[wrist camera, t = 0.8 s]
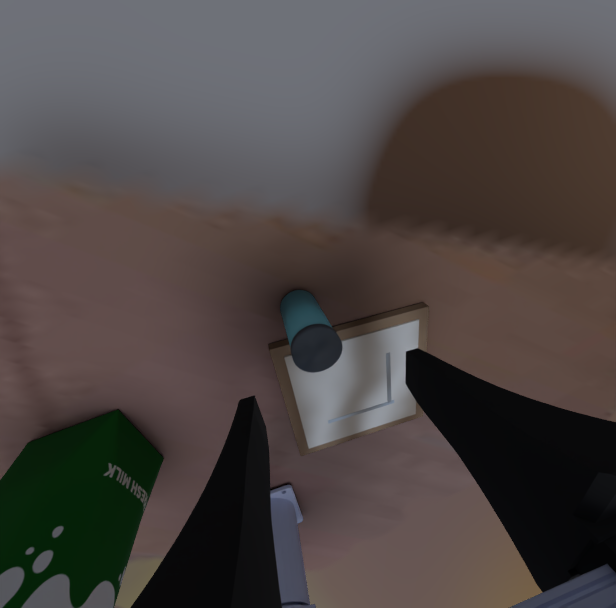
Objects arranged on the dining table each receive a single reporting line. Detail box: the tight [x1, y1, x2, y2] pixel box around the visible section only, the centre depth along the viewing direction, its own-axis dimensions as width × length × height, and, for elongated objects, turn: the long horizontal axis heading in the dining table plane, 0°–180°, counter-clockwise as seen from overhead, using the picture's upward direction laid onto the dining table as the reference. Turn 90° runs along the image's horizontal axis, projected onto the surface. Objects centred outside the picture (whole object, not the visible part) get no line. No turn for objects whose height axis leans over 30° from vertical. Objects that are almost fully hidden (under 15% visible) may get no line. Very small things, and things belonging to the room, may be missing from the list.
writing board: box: [268, 303, 429, 456], centre depth 25 cm, size 14×14×1 cm
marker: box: [280, 290, 342, 373], centre depth 17 cm, size 3×3×6 cm
